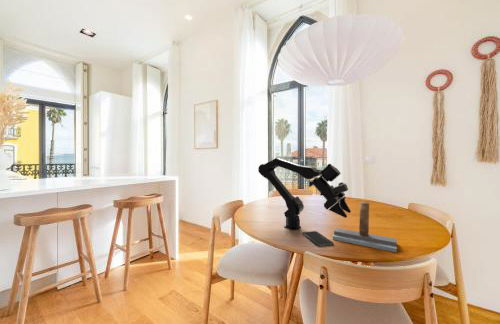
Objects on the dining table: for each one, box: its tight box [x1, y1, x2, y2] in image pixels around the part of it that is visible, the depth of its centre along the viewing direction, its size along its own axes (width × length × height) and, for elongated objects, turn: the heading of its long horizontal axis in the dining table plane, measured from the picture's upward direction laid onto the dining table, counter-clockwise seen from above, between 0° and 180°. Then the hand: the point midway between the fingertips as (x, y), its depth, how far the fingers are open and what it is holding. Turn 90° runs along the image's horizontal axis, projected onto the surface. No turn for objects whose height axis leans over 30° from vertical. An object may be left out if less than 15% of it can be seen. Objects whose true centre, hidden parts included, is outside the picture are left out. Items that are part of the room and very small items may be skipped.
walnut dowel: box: [358, 201, 370, 236], centre depth 98 cm, size 4×4×14 cm
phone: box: [302, 230, 334, 247], centre depth 101 cm, size 8×1×15 cm
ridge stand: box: [332, 227, 398, 253], centre depth 98 cm, size 24×10×3 cm, turn 57°
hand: (348, 214), depth 101 cm, fingers open, 9 cm apart
